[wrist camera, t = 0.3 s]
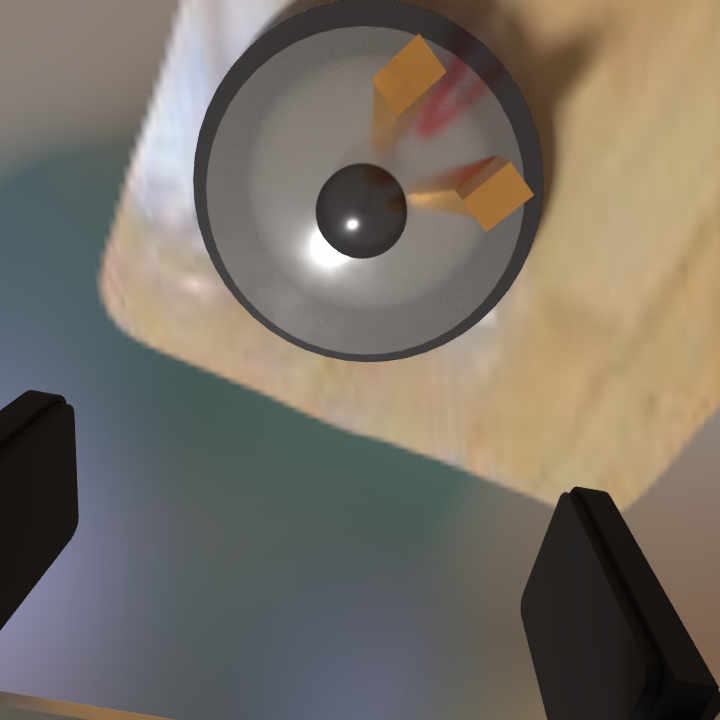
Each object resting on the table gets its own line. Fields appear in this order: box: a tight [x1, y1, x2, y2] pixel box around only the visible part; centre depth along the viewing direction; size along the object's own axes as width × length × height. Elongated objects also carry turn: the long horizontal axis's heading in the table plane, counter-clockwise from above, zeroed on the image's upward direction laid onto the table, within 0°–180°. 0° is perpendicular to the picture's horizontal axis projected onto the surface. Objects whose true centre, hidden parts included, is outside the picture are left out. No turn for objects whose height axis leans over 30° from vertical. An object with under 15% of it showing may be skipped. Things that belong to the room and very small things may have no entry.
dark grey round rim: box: [193, 0, 543, 362], centre depth 35 cm, size 21×21×2 cm
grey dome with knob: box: [206, 26, 534, 355], centre depth 31 cm, size 18×18×6 cm
